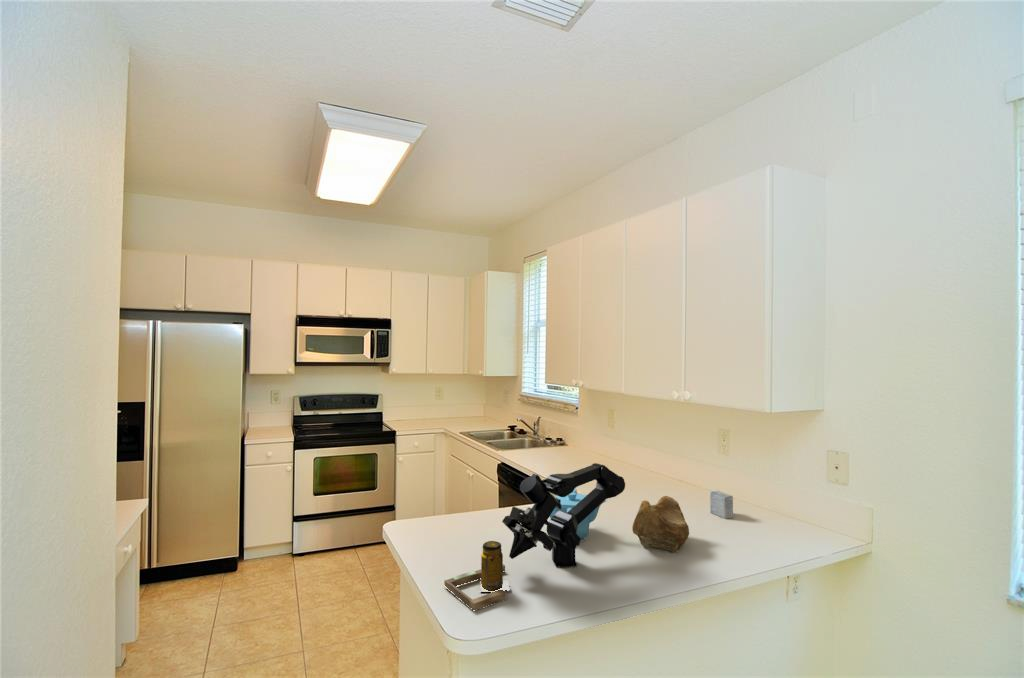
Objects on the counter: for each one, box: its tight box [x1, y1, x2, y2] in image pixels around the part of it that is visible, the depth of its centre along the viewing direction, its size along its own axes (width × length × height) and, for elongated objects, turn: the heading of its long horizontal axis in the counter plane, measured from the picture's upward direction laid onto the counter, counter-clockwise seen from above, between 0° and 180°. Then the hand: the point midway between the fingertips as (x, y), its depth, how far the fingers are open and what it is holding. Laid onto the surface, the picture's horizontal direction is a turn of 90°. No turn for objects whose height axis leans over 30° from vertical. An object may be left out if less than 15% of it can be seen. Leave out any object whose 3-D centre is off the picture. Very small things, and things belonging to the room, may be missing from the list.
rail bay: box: [444, 563, 506, 611], centre depth 141 cm, size 19×16×2 cm
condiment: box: [480, 540, 512, 593], centre depth 142 cm, size 7×8×12 cm
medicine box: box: [709, 490, 734, 520], centre depth 202 cm, size 8×4×9 cm, turn 22°
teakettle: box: [549, 487, 608, 541], centre depth 182 cm, size 19×19×15 cm
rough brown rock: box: [631, 495, 690, 554], centre depth 171 cm, size 23×17×15 cm
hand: (510, 557), depth 145 cm, fingers closed
